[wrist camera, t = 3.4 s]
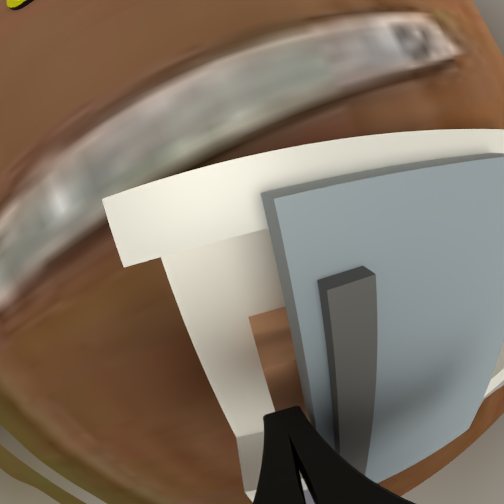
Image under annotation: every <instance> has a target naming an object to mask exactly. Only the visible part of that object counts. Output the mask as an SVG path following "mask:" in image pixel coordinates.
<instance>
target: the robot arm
mask: <svg viewBox="0 0 504 504" xmlns="http://www.w3.org/2000/svg"><path fill="white" fill-rule="evenodd" d="M263 422H264V445H263V455H262V464H261V470H260V475H259V480H258V485H257V490H256V493H255V497H254V501H253V504H415V503H413V502H411V501H408V500H406V499H404V498H402V497H400V496H398V495H396V494H394V493H392V492H390V491H389V490H387V489H385V488H383V487H381V486H380V485H378V484H377V483H375V482H374V481H372V480H371V479H369V478H368V477H366V476H365V475H363V474H362V473H361V472H359V471H358V470H357V469H355V468H354V467H353V466H352V465H350V464H349V463H348V462H347V461H346V460H345V459H343V458H342V457H341V456H340V455H339V454H338V453H337V452H336V451H335V450H334V449H333V448H332V447H331V446H330V445H329V444H328V443H327V442H326V441H325V440H324V439H323V438H322V437H321V436H320V434H319V433H318V432H317V431H316V430H315V428H314V427H313V426H312V425H311V423H310V422H309V421H308V419H307V418H306V416H305V415H304V413H303V411H302V410H301V408H300V406H297V405H296V406H293V407H290V408H287V409H283V410H280V411H276V412H272V413H269V414H265V415H264V416H263ZM299 470H300V472H299ZM300 473H301V475H302V477H303V479H304V481H305V484H306V486H307V488H308V489H307V490H304V491H303V486H302V481H301V476H300Z"/></svg>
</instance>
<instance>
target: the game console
mask: <svg viewBox="0 0 504 504" xmlns="http://www.w3.org/2000/svg"><path fill="white" fill-rule="evenodd" d="M32 1H33V0H7V6H8V7H9V8H11V9H12V10H19V9H21V8H23V7H25V6H26V5H28V4H29V3H31V2H32Z"/></svg>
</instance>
